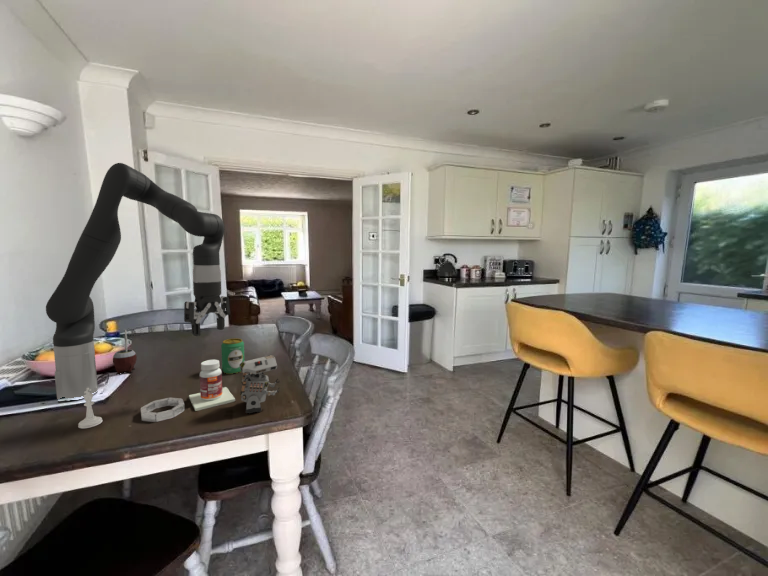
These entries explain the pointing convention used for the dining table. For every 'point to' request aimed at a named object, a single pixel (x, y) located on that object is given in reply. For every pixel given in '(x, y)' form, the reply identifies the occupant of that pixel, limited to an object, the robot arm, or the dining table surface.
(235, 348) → the beverage can
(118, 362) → the mate gourd
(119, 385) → the dining table surface
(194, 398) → the sage pad
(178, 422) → the dining table surface
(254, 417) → the dining table surface
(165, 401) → the steel collar
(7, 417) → the dining table surface
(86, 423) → the chess piece
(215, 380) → the pill bottle
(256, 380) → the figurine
